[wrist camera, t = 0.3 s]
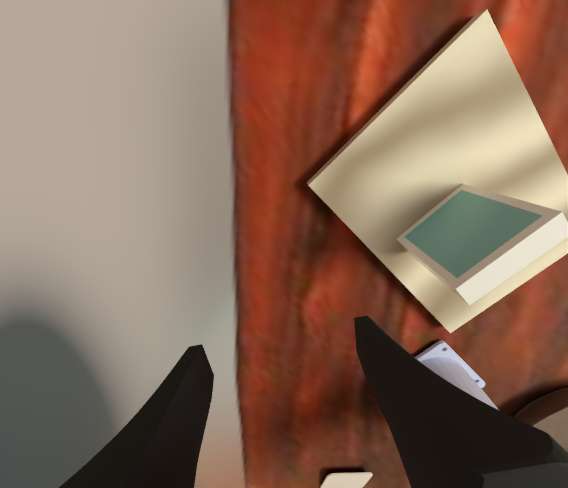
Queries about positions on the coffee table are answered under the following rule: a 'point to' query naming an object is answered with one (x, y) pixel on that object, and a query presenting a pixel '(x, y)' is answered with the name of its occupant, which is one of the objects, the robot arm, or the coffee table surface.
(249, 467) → the coffee table surface
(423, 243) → the tile
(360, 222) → the board
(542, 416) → the plant saucer
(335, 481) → the pale flat elongated part
